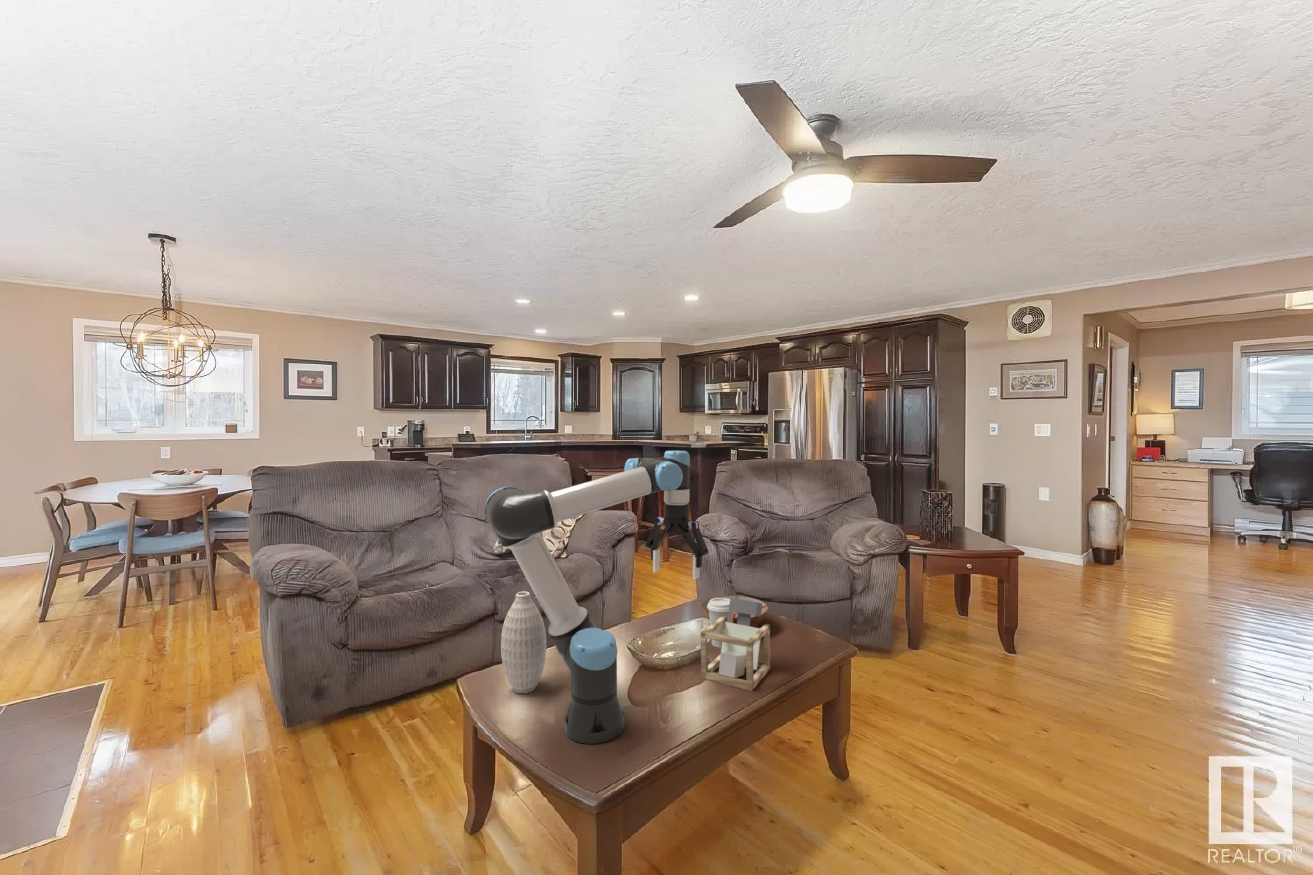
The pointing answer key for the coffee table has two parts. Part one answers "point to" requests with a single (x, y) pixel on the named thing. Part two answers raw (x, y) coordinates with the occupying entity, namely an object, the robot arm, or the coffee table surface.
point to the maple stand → (763, 666)
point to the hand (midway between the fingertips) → (675, 574)
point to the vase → (523, 644)
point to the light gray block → (732, 664)
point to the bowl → (754, 619)
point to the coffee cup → (719, 614)
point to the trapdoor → (742, 627)
